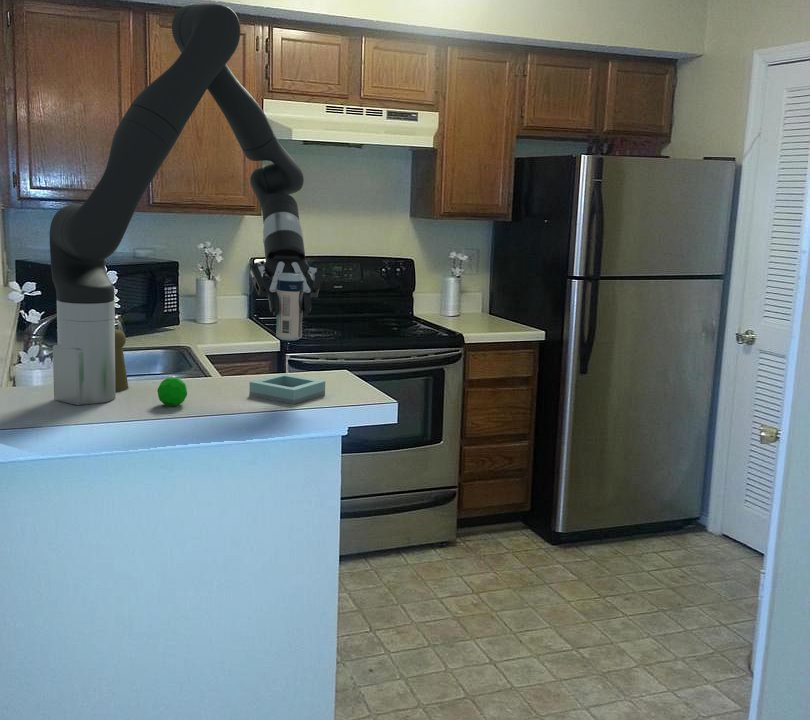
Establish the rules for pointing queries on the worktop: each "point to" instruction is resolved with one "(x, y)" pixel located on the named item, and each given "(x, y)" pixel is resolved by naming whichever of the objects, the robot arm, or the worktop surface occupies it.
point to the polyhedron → (172, 391)
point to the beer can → (289, 306)
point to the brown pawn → (120, 362)
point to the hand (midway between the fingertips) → (291, 312)
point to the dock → (287, 388)
